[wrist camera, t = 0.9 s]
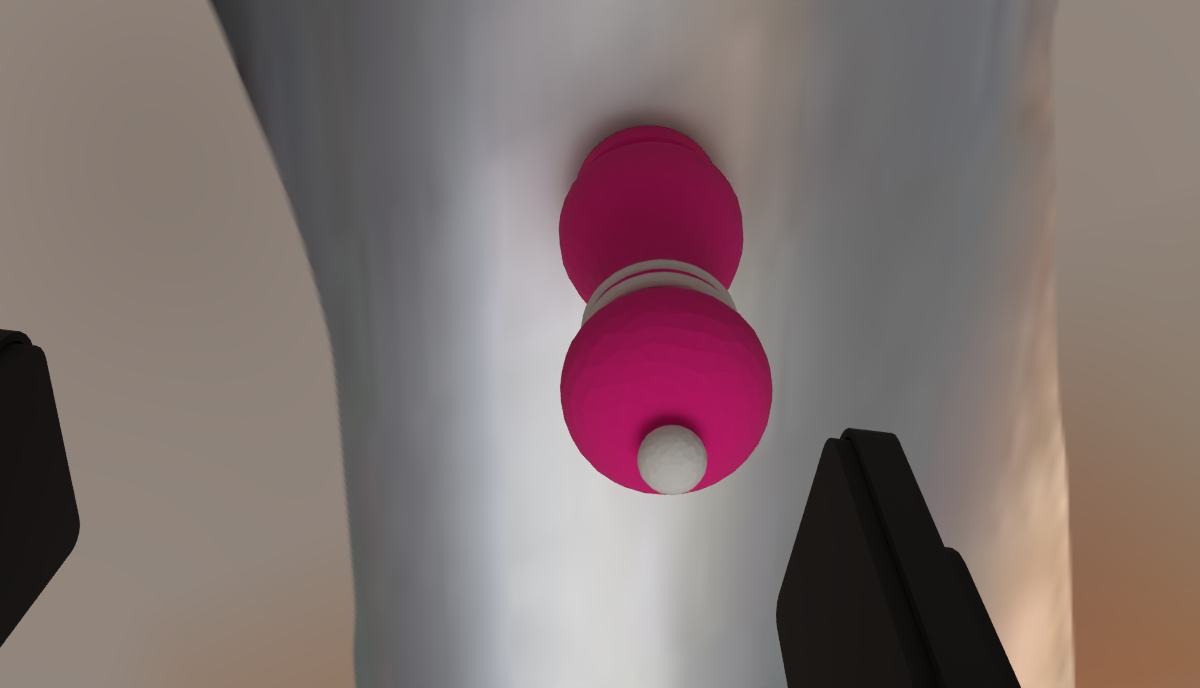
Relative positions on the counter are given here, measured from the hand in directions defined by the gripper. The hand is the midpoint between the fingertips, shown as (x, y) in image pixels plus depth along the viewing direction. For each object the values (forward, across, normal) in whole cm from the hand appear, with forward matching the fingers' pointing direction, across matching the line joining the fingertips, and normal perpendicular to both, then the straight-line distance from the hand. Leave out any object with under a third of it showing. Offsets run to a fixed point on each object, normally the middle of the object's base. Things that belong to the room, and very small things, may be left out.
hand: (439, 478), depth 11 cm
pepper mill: (+29, -4, +7) cm, 31 cm away
